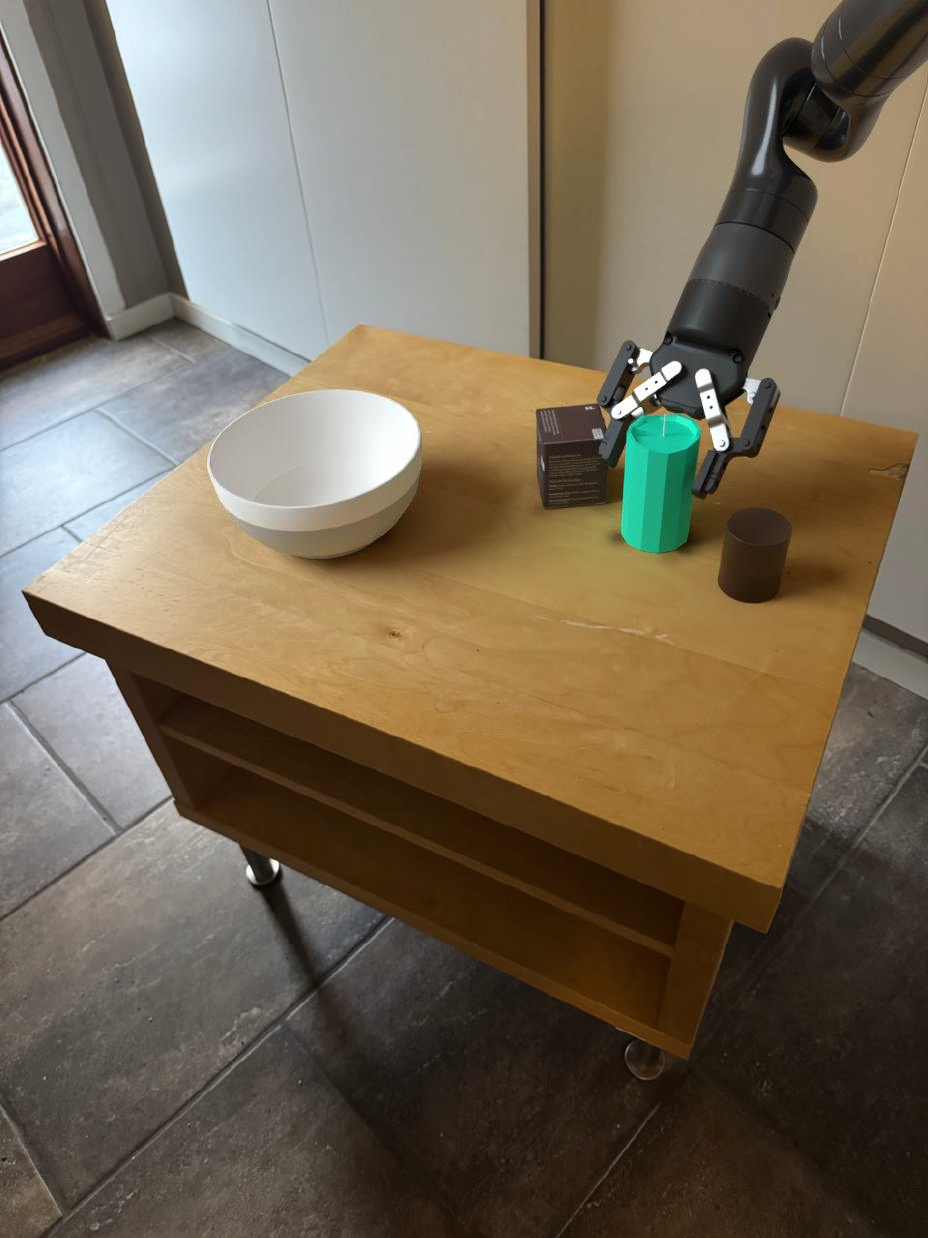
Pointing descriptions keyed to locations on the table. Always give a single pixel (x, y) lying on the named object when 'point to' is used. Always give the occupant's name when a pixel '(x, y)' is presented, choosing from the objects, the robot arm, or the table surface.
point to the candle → (659, 481)
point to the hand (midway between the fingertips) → (651, 480)
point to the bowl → (318, 470)
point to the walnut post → (754, 554)
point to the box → (571, 456)
